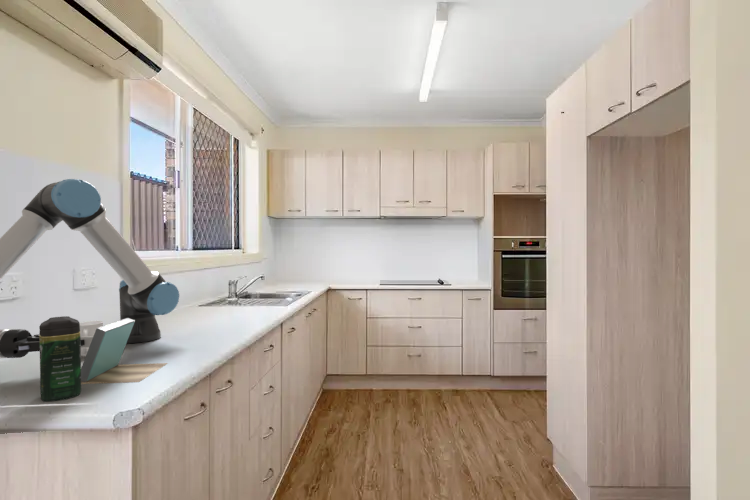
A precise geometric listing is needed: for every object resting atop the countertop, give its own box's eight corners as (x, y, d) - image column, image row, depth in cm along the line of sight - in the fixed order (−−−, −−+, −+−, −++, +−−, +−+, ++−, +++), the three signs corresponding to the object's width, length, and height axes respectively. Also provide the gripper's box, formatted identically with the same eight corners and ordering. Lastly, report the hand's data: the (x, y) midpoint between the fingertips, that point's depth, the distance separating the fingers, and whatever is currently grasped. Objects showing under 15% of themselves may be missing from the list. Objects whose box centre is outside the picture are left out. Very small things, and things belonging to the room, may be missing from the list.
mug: (99, 358, 139) (98, 325, 139) (68, 361, 136) (67, 328, 136) (105, 350, 150) (104, 320, 150) (76, 353, 147) (75, 322, 147)
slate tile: (110, 362, 129) (127, 317, 129) (118, 365, 129) (135, 320, 129) (76, 379, 113) (96, 328, 113) (85, 382, 113) (105, 331, 113)
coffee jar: (83, 398, 103) (81, 317, 103) (40, 405, 98) (38, 321, 98) (80, 387, 111) (78, 313, 110) (40, 394, 106) (38, 316, 106)
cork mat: (105, 366, 130) (105, 364, 130) (168, 364, 131) (168, 363, 131) (65, 385, 112) (65, 384, 112) (139, 383, 113) (139, 381, 113)
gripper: (26, 351, 126) (112, 349, 127) (-12, 364, 113) (84, 361, 114) (25, 325, 126) (111, 323, 127) (-12, 334, 113) (84, 332, 114)
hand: (98, 341), depth 120 cm, fingers closed
